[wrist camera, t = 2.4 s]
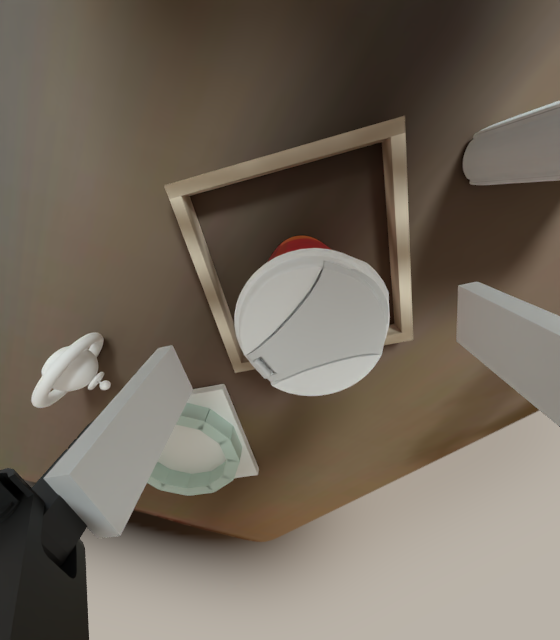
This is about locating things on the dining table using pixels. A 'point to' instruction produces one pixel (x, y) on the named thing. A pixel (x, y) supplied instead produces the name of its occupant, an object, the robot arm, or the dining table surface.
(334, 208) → the dining table surface
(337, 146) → the tray frame
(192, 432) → the cup holder
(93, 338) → the ring around a ball
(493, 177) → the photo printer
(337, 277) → the paper cup
